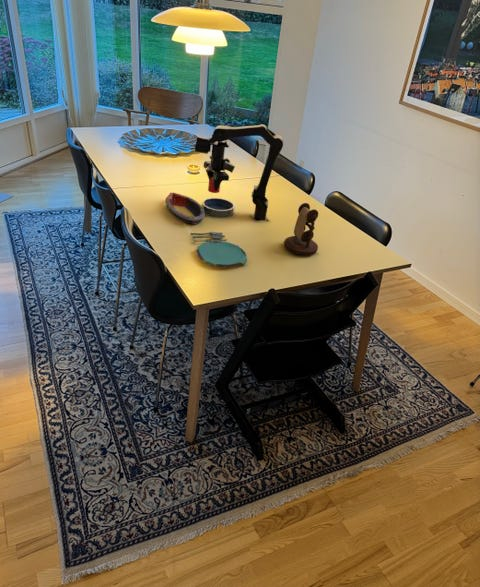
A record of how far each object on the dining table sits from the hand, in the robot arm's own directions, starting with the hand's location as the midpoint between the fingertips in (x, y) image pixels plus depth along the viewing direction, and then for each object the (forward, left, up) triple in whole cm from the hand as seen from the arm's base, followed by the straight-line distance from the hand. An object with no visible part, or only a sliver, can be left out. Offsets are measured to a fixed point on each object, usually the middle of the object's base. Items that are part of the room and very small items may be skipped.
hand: (214, 188), depth 210 cm
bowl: (-1, -3, -12) cm, 12 cm away
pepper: (0, 0, -1) cm, 1 cm away
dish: (-1, +14, -12) cm, 19 cm away
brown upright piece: (-43, -26, -12) cm, 51 cm away
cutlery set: (-39, +11, -12) cm, 42 cm away
